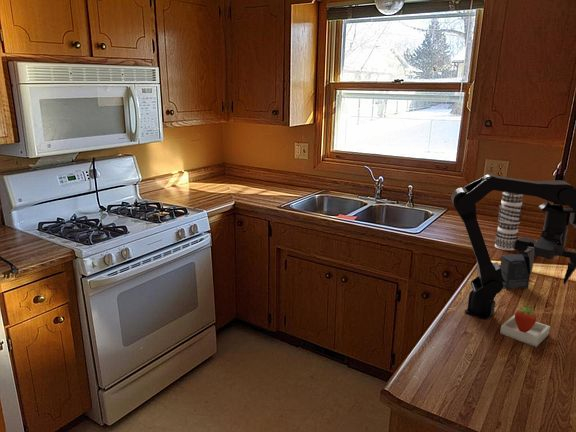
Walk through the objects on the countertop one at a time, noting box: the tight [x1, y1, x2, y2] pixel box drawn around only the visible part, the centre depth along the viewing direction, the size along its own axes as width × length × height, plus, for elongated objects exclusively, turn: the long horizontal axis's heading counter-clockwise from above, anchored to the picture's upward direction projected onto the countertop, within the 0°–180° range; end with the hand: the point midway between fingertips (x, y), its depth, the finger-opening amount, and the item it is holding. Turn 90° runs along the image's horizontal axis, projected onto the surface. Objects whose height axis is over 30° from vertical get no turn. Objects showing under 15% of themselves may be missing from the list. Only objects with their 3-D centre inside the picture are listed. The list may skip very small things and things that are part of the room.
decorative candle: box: [494, 191, 524, 251], centre depth 191 cm, size 9×9×25 cm
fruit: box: [514, 304, 537, 332], centre depth 124 cm, size 5×5×8 cm
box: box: [499, 253, 531, 290], centre depth 155 cm, size 8×6×11 cm
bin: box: [499, 314, 551, 348], centre depth 125 cm, size 9×9×2 cm
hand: (546, 278), depth 129 cm, fingers open, 9 cm apart
